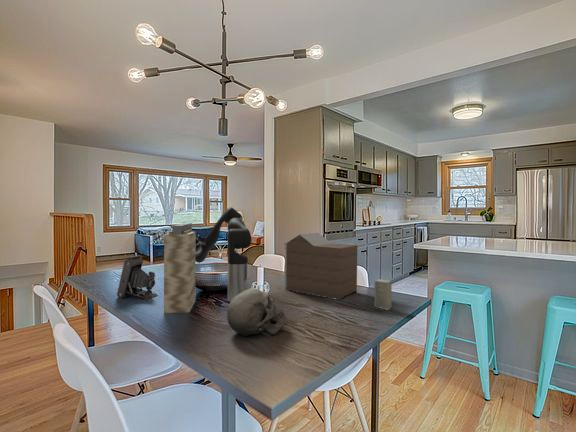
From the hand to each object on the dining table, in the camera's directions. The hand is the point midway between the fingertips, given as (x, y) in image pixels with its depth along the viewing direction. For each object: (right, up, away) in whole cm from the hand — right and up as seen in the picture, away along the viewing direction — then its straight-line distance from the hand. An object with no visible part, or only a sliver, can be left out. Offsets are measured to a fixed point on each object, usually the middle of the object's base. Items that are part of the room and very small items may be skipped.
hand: (190, 237), depth 163 cm
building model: (+67, -29, +5) cm, 73 cm away
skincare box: (+92, -30, -24) cm, 99 cm away
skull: (+40, -29, -54) cm, 73 cm away
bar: (+4, +4, -22) cm, 22 cm away
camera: (-21, -28, -10) cm, 37 cm away
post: (+4, -28, -26) cm, 39 cm away
